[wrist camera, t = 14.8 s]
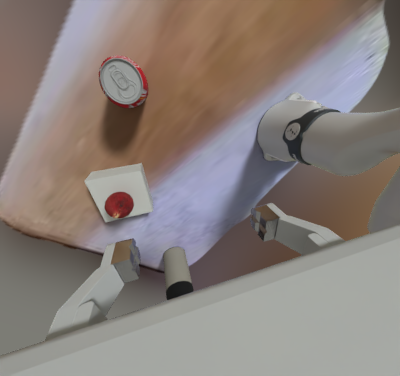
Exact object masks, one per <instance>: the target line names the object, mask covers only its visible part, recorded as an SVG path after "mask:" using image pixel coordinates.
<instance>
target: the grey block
mask: <svg viewBox="0 0 400 376" xmlns="http://www.w3.org/2000/svg"><path fill="white" fill-rule="evenodd" d="M85 183H86V185H87V187H88V189H89V191H90V193H91V195H92V197H93V199H94V201H95V203H96V205H97V207H98V209H99V211H100V213H101V214H102V216H103V218H104V220H105V222H110V221H114V220H118V219H123V218H113V217H111V216H109V215H108V214H107V212H106V210H105V208H104V207H105V201H106V200H107V198H108V197H109V196H110V195H111V194H113V193H116V192H126V193H127V194H129V195H130V196H131V197H132V198H133V202H134V207H133V210H132V212H131V213H130V214H129V215H128V216H126V217H124V218H127V217H131V216H135V215H140V214H144V213H148V212H153V200H152V196H151V193H150V190H149V186H148V183H147V179H146V176H145V173H144V169H143V166H142V163H140V164H135V165H129V166H123V167H118V168H112V169H107V170H101V171H95V172H91V173H90V175H89V176H88V177H87V178H86V180H85Z"/></svg>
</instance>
